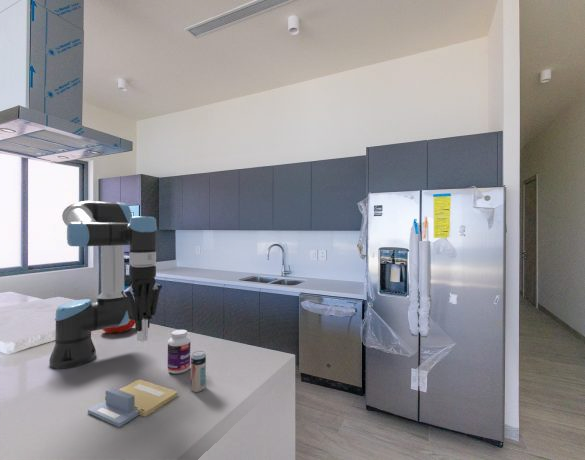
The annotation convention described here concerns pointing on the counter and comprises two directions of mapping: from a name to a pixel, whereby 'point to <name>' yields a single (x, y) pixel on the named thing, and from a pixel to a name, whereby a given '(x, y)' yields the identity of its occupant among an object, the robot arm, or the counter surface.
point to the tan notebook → (148, 396)
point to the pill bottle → (178, 352)
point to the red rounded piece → (120, 327)
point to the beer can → (198, 371)
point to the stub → (115, 407)
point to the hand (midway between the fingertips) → (142, 339)
